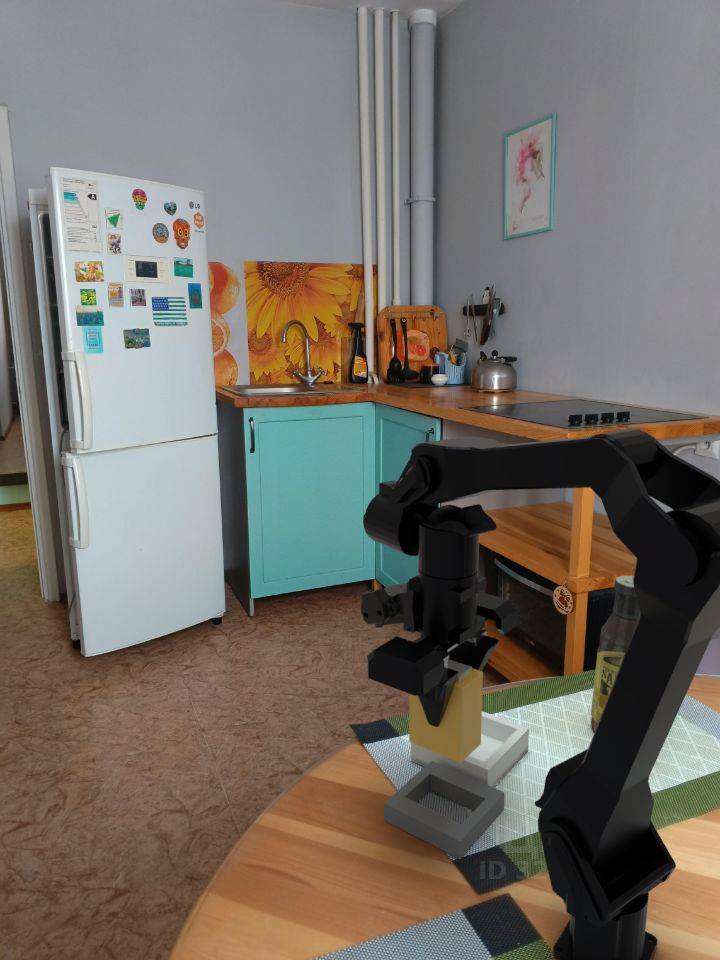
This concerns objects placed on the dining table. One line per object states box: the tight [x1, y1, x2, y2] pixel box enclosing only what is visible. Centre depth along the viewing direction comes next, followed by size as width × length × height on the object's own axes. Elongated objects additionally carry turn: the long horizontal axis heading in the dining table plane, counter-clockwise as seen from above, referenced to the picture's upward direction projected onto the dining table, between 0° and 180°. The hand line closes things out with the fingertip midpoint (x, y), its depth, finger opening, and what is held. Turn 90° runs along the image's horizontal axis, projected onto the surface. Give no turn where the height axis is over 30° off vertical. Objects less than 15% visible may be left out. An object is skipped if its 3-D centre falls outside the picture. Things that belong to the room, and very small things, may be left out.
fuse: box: [408, 659, 484, 763], centre depth 72 cm, size 4×6×9 cm, turn 52°
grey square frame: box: [383, 761, 506, 860], centre depth 74 cm, size 9×9×2 cm
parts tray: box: [410, 710, 530, 788], centre depth 84 cm, size 10×10×3 cm
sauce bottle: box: [590, 574, 640, 732], centre depth 87 cm, size 7×6×20 cm
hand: (445, 715), depth 72 cm, fingers closed on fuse, 4 cm apart
